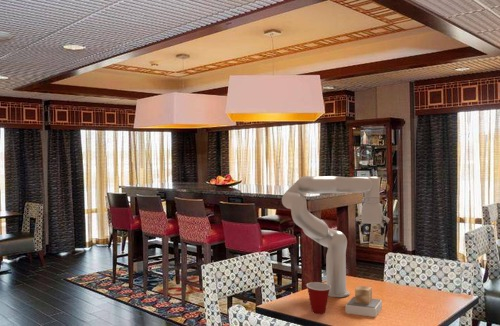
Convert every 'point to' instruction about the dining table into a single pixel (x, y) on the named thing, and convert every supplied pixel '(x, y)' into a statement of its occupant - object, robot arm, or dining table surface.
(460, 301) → the dining table surface
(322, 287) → the plastic cup
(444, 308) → the dining table surface
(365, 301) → the oak cube
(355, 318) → the dining table surface
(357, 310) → the plinth
